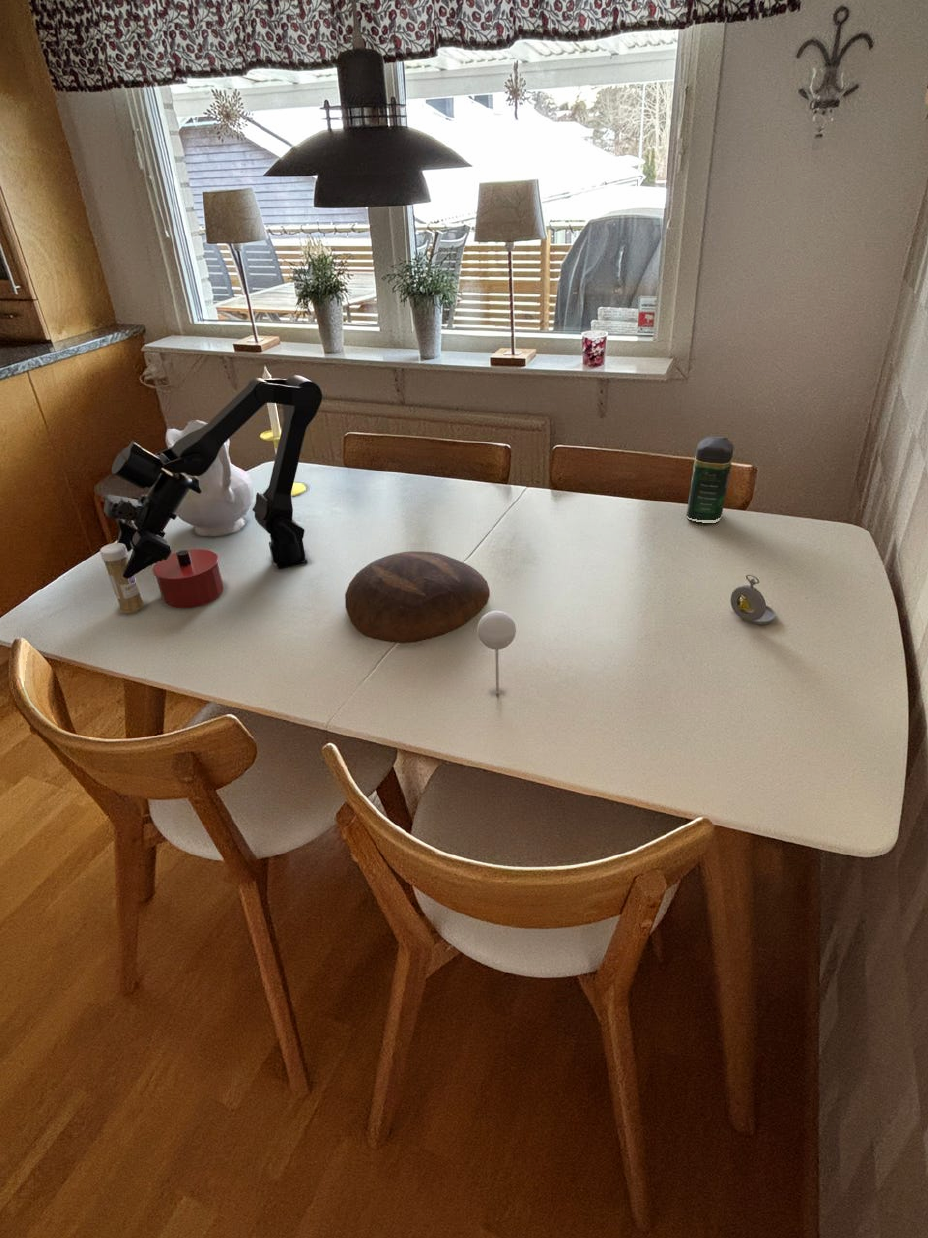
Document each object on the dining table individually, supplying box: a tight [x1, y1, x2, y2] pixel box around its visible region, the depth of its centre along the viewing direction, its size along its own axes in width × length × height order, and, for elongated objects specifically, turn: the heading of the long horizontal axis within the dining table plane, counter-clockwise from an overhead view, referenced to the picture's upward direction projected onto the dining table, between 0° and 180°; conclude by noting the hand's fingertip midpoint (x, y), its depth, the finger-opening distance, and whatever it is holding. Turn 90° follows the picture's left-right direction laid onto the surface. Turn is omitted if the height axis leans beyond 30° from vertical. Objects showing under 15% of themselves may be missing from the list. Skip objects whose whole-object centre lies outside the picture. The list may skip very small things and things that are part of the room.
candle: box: [259, 366, 307, 498], centre depth 183 cm, size 10×10×32 cm
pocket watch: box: [729, 574, 777, 625], centre depth 129 cm, size 8×8×10 cm
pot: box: [155, 563, 224, 609], centre depth 145 cm, size 12×12×6 cm
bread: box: [344, 550, 491, 644], centre depth 137 cm, size 28×27×9 cm
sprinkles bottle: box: [99, 542, 145, 614], centre depth 139 cm, size 5×5×13 cm
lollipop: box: [476, 610, 517, 695], centre depth 112 cm, size 6×6×15 cm
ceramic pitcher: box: [165, 419, 254, 537], centre depth 167 cm, size 22×20×25 cm
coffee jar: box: [686, 435, 734, 526], centre depth 163 cm, size 10×8×19 cm
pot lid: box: [151, 548, 220, 581], centre depth 143 cm, size 13×13×4 cm
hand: (119, 568), depth 138 cm, fingers open, 9 cm apart
